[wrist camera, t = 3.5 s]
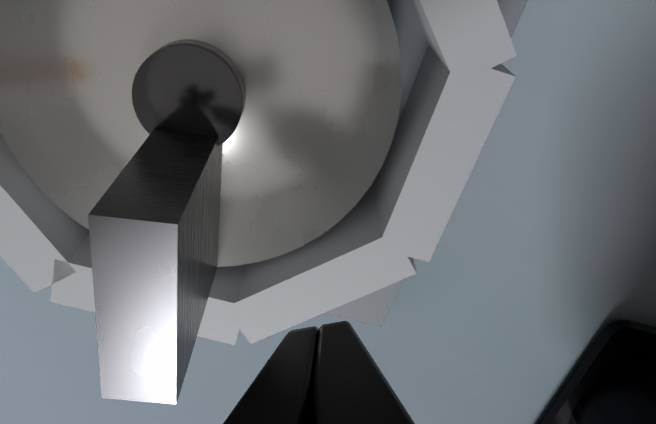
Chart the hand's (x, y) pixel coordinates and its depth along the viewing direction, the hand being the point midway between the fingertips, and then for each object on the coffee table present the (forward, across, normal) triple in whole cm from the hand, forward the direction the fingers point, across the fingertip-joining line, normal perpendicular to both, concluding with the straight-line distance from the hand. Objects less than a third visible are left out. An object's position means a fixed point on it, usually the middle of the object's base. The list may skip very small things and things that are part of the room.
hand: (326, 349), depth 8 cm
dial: (+7, +2, -3) cm, 7 cm away
